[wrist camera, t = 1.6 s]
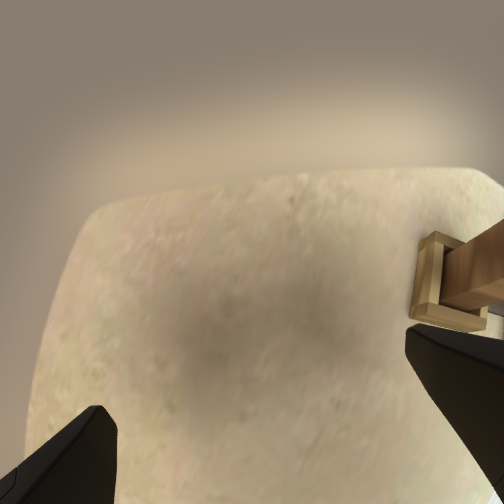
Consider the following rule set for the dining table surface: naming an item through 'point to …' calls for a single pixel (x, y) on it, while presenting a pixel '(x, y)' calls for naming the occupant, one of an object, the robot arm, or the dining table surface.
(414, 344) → the robot arm
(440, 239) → the wooden box with frame
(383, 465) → the dining table surface
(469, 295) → the brown wooden block
